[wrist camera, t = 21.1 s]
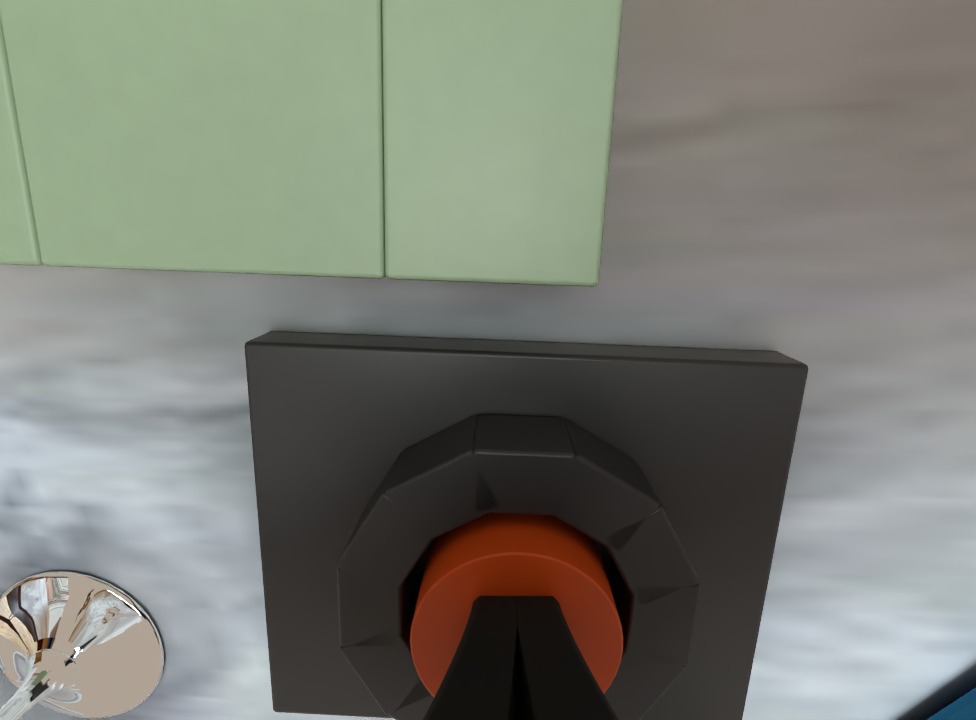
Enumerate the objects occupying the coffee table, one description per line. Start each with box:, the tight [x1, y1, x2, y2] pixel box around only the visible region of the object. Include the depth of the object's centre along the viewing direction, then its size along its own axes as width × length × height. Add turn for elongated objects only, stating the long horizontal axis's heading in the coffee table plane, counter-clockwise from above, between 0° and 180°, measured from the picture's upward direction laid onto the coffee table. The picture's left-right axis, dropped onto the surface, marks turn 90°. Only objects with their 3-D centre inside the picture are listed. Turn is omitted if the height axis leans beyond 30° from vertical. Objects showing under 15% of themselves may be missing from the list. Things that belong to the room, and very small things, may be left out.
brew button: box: [410, 513, 623, 697], centre depth 10 cm, size 4×4×2 cm
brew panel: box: [245, 331, 808, 720], centre depth 11 cm, size 11×9×3 cm
